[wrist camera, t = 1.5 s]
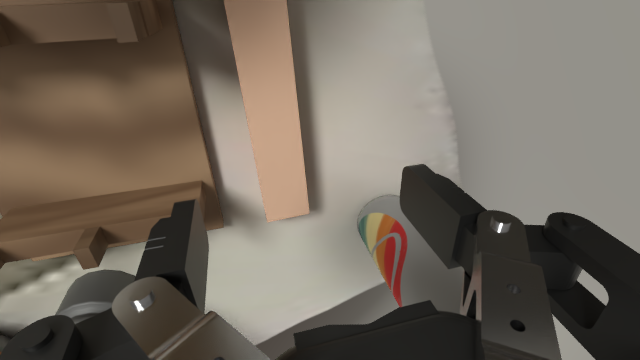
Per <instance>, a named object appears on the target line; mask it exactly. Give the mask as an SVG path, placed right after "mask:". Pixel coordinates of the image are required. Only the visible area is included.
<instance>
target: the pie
mask: <svg viewBox="0 0 640 360" xmlns="http://www.w3.org/2000/svg"><path fill="white" fill-rule="evenodd" d="M10 340H11V339H10V338H8V337H6V336H4V335H0V354H1V352H2V351H3V349H4V347H5V346H6V345H7V343H8V342H9V341H10Z"/></svg>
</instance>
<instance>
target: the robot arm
mask: <svg viewBox="0 0 640 360" xmlns="http://www.w3.org/2000/svg"><path fill="white" fill-rule="evenodd" d="M400 207H401V210H402V212H403V214H404V215H405V216H406V218H407V219H408V220H409V221H410V223H411V224H412V225H413V226H414V227H415V229H416V230H417V231H418V232H419V234H420V235H421V236H422V237H423V239H424V240H425V241H426V242H427V244H428V245H429V246H430V247H431V248H432V250H433V251H434V252H435V253H436V255H437V256H438V257H439V258H440V260H441V261H442V262H443V263H444V265H445V266H446V267H447V268H448V269H452V268H457V267H462V268H463V269H464V271H463V275H462V287H461V302H460V314H458V313H453V312H448V311H438V310H437V309H436V308H435V306H434V305H433V303H432V302H431V300H428V301H424V302H419V303H415V304H411V305H407V306H403V307H399V308H397V309H396V310H394V311H392V312H390V313H388V314H386V315H385V316H383V317H381V318H379V319H377V320H376V321H374V322H372V323H370V324H365V325H327V326H323V327H319V328H315V329H311V330H307V331H302V332H299V333H294V342H295V346H294V347H292V348H290V349H288V350H287V351H286V352H284V353H283V354H281V355H280V356H279V357H278V358H277V359H275V360H562V358H561V354H560V349H559V344H558V340H557V335H556V330H555V326H554V322H553V316H552V314H553V315H554V316H555V317H556V318H557V319H558V320H559V321H560V323H561V324H562V325H563V326H564V327H565V328H566V329H567V330H568V331H569V332H570V333H571V334H572V335H573V336H574V337H575V338H576V339H577V340H578V342H579V343H581V345H582V346H583V347H584V348H585V349H586V350H587V351H588V352H589V353H590V354H591V355H592V356H593V357H594V358H595V359H596V360H640V254H639V253H637V252H636V251H634V250H633V249H631V248H630V247H628V246H627V245H625V244H624V243H622V242H621V241H619V240H618V239H616V238H615V237H613V236H612V235H610V234H609V233H607V232H606V231H604V230H603V229H601V228H600V227H598V226H597V225H595V224H594V223H592V222H591V221H589V220H587V219H585V218H583V217H581V216H578V215H575V214H571V213H564V212H557V213H552V214H550V215H549V216H548V218H547V221H546V223H545V225H524V224H523V223H522V222H521V220H519V219H518V218H517V217H515V216H513V215H511V214H509V213H506V212H502V211H495V210H488V211H487V210H486V209H485V208H484V207H482V206H481V205H480V204H479V203H478V202H476V201H475V200H474V199H473V198H472V197H470V196H469V195H468V194H467V193H464V191H463V190H462V189H461V188H459V187H458V186H457V185H456V184H455V183H453V182H452V181H451V180H450V179H448V178H446V177H444V176H441V175H439V174H435V173H434V172H433V171H432V170H431V169H429V168H428V167H427V166H426V165H424V164H419V165H413V166H406V167H404V169H403V172H402V181H401V190H400ZM208 252H209V244H208V236H207V232H206V228H205V224H204V221H203V217H202V213H201V210H200V206H199V203H198V200H197V199H192V200H186V201H180V202H175V203H174V205H173V209H172V213H171V217H168V218H162V219H160V220H159V221H158V222H157V223H156V224H155V225H154V226H153V227H152V228H151V231H150V234H149V237H148V242H147V243H146V246H145V251H144V252H143V255H142V259H141V262H140V265H139V268H138V271H137V274H136V277H135V280H134V282H133V283H131V284H129V285H128V286H126V287H125V288H124V289H123V290H121V292H120V293H119V294H118V295H117V296H116V297H115V299H114V301H113V304H112V307H111V308H109V309H108V310H106V311H104V312H102V313H99V314H97V315H95V316H92V317H90V318H88V319H86V320H83V321H81V322H79V323H76V324H75V323H74V322H73V320H72V319H71V318H70V317H68V316H65V315H54V316H49V317H46V318H43V319H41V320H38V321H36V322H34V323H32V324H30V325H29V326H27V327H25V328H24V329H23V330H21V331H20V332H19V333H17V334H16V335H15V336H14V337H13V338H12V339H11V340H10V341H9V342H8V343H7V345H6V346H5V347H4V349H3V351H2V352H1V354H0V360H271V359H269V358H268V357H267V356H266V355H265V354H264V353H262V352H261V351H260V350H259V349H258V348H257V347H255V346H254V345H253V344H252V343H251V342H250V341H249V340H247V339H246V338H245V337H244V336H243V335H242V334H240V333H239V332H238V331H237V330H236V329H235V328H233V327H232V326H231V325H230V324H229V323H228V322H226V321H225V320H224V319H223V318H222V317H221V316H219V315H218V314H217V313H215V312H213V311H210V312H208V313H207V314H206V315H205V314H204V310H205V296H206V281H207V267H208ZM582 269H584V270H585V271H586V272H587V273H588V274H590V275H591V276H592V277H593V278H594V279H596V280H597V281H598V282H599V283H600V284H602V285H603V286H604V288H605V289H606V291H607V293H608V296H609V301H608V304H607V305H606V306H605V305H604V304H603V303H602V302H601V301H599V300H598V299H597V298H596V297H595V296H594V295H593V294H592V293H590V292H589V291H588V290H587V289H586V288H585V287H583V286H582V285H581V284H580V283H579V282H578V281H577V278H578V276H579V274H580V273H581V271H582Z"/></svg>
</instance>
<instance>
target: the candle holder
mask: <svg viewBox="0 0 640 360" xmlns="http://www.w3.org/2000/svg"><path fill="white" fill-rule="evenodd" d="M134 280H135V276H133V275H130V274H127V273H124V272H122V271H112V270H101V271H96V272H91V273H87V274H85V275H84V276H82V277H80V278H78V279H76V280H75V281H74V283H73V284H72V285H71V287H70V288H69V290H68V291H67V293H66V295H65V297H64V299H63V301H62V303H61V305H60V307H59V309H58V311H57V312H56V314H55V315H65V316H68V317H70V318H71V319H72V320H73V322H74V323H75V324H76V323H79V322H81V321H83V320H86V319H88V318H90V317H92V316H95V315H97V314H99V313H102V312H104V311H106V310H108V309H109V308H111V307H112V304H113V301H114V299H115V297H116V296H117V295H118V294H119V293H120V292H121V290H123V289H124V288H125V287H126V286H128V285H129V284H131V283H133V282H134Z"/></svg>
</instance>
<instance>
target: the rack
mask: <svg viewBox="0 0 640 360" xmlns="http://www.w3.org/2000/svg"><path fill="white" fill-rule="evenodd" d="M192 199H197V200H198V203H199V206H200V210H201V213H202V217H203V221H204V224H205V228H206V231H207V230H212V229H218V228H223V223H224V220H223V216H222V212H221V208H220V203H219V199H218V195H217V190H216V186H215V182H214V178H213V173H212V169H211V165H210V160H209V156H208V152H207V148H206V143H205V139H204V135H203V130H202V126H201V122H200V118H199V113H198V109H197V105H196V100H195V96H194V92H193V88H192V83H191V79H190V75H189V70H188V66H187V62H186V58H185V53H184V49H183V45H182V40H181V36H180V32H179V28H178V23H177V19H176V15H175V10H174V6H173V2H172V0H0V213H1V214H2V216H3V218H2V219H1V220H0V269H1V267H2V266H3V265H4V264H5V263H7V262H13V261H18V260H24V259H30V258H31V259H32V261H38V260H43V259H49V258H54V257H60V256H66V255H71V254H75V256H76V257H77V259H78V261H79V263H80V264H81V266H82V268H83V270H84V269H89V268H95V267H99V265H100V262H101V260H102V258H103V256H104V254H105V251H106V249H107V248H111V247H116V246H122V245H128V244H133V243H139V242H145V241H148V237H149V234H150V231H151V228H152V227H153V226H154V225H155V224H156V223H157V222H158V221H159V220H160V219H162V218H168V217H171V213H172V209H173V205H174V203H175V202H180V201H186V200H192Z"/></svg>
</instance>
